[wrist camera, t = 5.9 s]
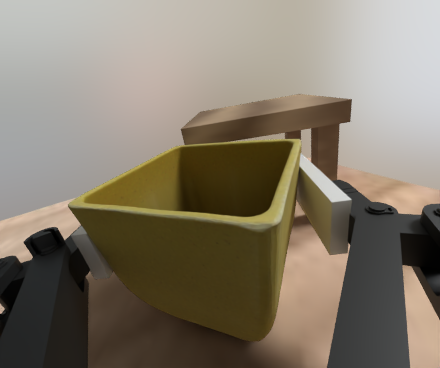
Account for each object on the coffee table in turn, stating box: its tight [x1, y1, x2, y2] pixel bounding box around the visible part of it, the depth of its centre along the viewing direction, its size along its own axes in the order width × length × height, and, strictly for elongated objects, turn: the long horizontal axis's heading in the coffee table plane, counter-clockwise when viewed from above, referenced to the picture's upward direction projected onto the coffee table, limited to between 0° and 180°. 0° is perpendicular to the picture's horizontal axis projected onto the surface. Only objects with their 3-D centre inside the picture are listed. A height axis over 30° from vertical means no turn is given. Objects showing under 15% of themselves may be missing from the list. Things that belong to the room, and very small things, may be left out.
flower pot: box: [68, 139, 301, 342], centre depth 12 cm, size 9×9×9 cm
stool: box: [181, 94, 352, 181], centre depth 23 cm, size 12×12×10 cm
